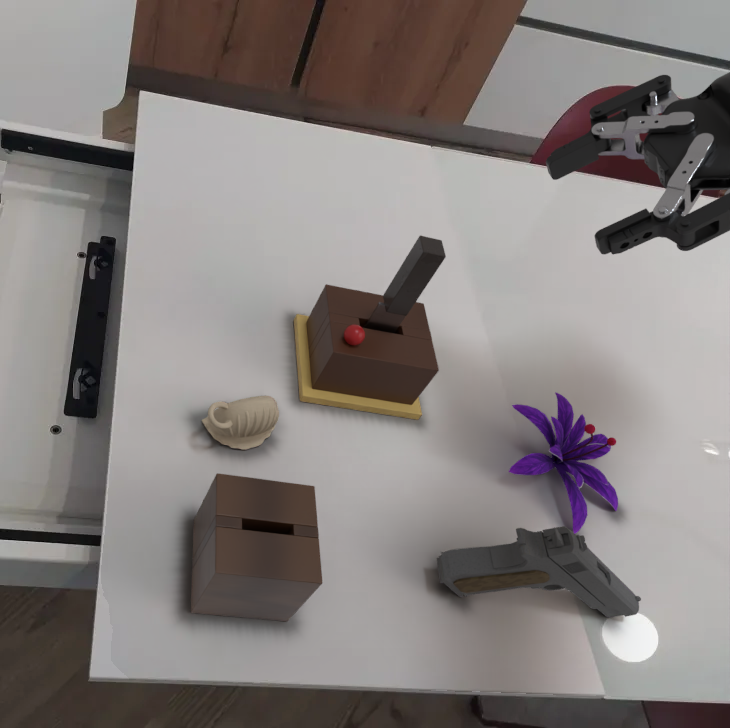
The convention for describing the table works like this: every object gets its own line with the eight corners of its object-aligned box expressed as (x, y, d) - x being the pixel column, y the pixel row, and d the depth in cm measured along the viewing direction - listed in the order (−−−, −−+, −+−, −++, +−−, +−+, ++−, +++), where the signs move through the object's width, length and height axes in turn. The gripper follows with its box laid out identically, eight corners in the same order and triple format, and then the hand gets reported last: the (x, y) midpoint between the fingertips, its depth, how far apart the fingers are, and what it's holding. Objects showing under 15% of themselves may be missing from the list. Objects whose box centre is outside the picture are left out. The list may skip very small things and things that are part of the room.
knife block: (283, 530, 64) (314, 485, 58) (287, 621, 59) (323, 583, 53) (193, 519, 62) (216, 472, 56) (190, 613, 57) (215, 572, 51)
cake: (402, 339, 83) (439, 286, 77) (418, 420, 77) (459, 369, 70) (293, 319, 81) (321, 262, 74) (299, 401, 74) (331, 346, 67)
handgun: (427, 549, 64) (564, 508, 58) (517, 613, 74) (642, 584, 68) (431, 580, 62) (573, 542, 56) (523, 641, 72) (651, 614, 66)
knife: (371, 357, 79) (447, 241, 66) (373, 373, 78) (451, 257, 65) (343, 352, 78) (414, 233, 65) (345, 368, 77) (418, 250, 64)
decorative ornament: (281, 443, 70) (299, 411, 66) (199, 457, 66) (213, 425, 62) (266, 408, 72) (283, 375, 68) (185, 420, 68) (199, 386, 64)
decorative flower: (531, 371, 82) (583, 342, 75) (628, 475, 81) (688, 454, 75) (475, 447, 74) (528, 422, 68) (582, 562, 73) (645, 547, 67)
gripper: (745, 0, 53) (525, 116, 58) (881, 118, 45) (611, 242, 49) (741, 78, 59) (541, 178, 63) (861, 196, 50) (621, 300, 55)
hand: (572, 206), depth 56 cm, fingers open, 8 cm apart
